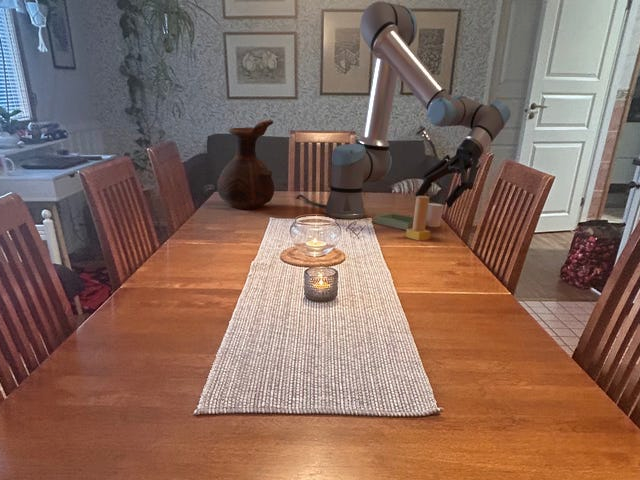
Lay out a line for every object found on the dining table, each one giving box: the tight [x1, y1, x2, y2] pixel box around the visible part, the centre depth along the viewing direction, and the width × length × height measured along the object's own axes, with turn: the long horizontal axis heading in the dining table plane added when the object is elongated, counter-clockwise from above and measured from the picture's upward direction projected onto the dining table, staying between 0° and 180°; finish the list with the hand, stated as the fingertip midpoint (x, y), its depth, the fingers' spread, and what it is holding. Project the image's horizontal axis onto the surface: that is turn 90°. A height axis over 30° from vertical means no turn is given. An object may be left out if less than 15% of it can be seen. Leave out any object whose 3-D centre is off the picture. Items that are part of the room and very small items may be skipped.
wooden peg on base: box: [405, 195, 431, 242], centre depth 190 cm, size 6×5×12 cm
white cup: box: [425, 202, 445, 228], centre depth 210 cm, size 7×7×7 cm
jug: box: [216, 119, 276, 210], centre depth 222 cm, size 22×22×30 cm
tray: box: [373, 212, 427, 231], centre depth 210 cm, size 15×10×2 cm
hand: (432, 201), depth 189 cm, fingers open, 13 cm apart
